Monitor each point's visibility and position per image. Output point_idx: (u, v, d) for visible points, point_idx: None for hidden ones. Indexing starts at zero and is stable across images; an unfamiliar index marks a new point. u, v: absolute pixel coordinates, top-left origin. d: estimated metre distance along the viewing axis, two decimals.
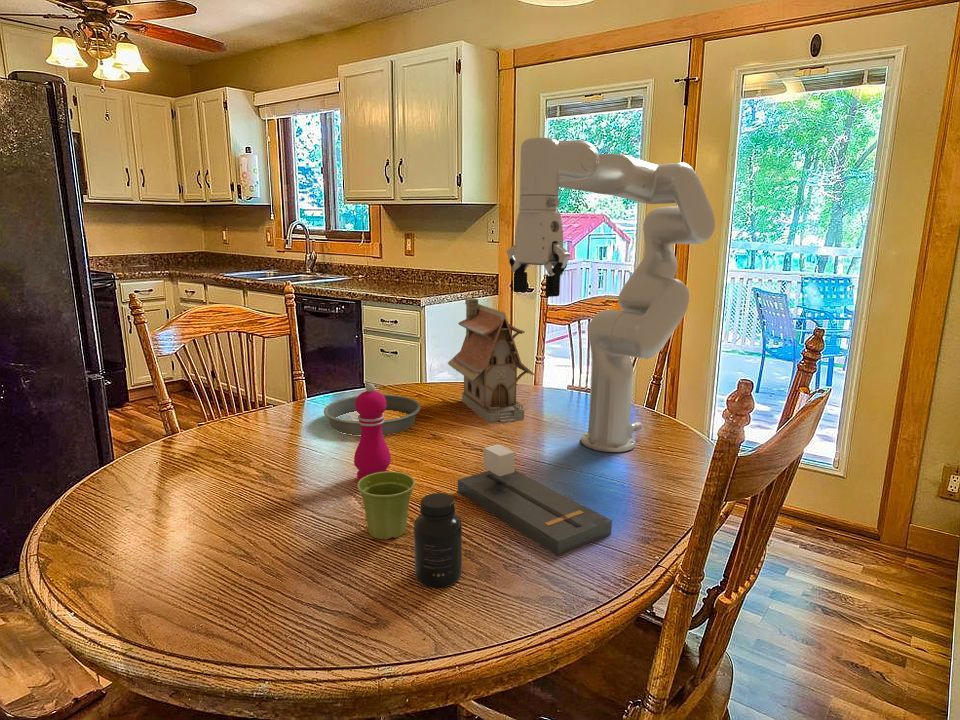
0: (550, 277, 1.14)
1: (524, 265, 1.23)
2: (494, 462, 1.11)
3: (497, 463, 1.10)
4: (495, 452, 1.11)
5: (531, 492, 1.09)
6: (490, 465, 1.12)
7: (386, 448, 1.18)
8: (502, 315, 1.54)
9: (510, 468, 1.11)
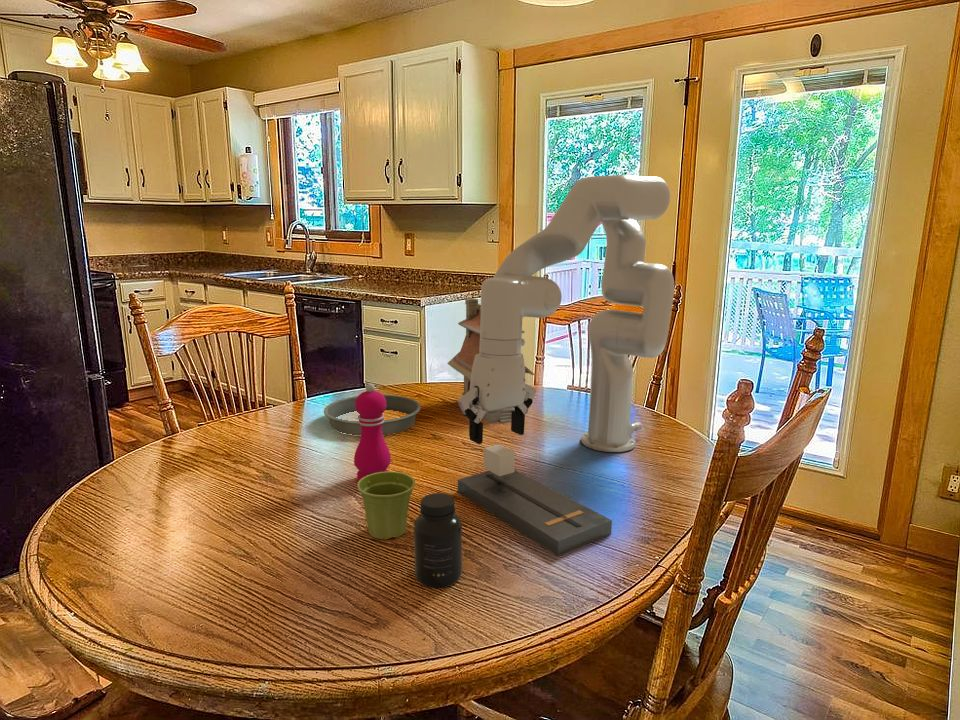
0: None
1: (474, 412, 1.08)
2: (494, 462, 1.11)
3: (497, 463, 1.10)
4: (495, 452, 1.11)
5: (531, 492, 1.09)
6: (490, 465, 1.12)
7: (386, 448, 1.18)
8: None
9: (510, 468, 1.11)
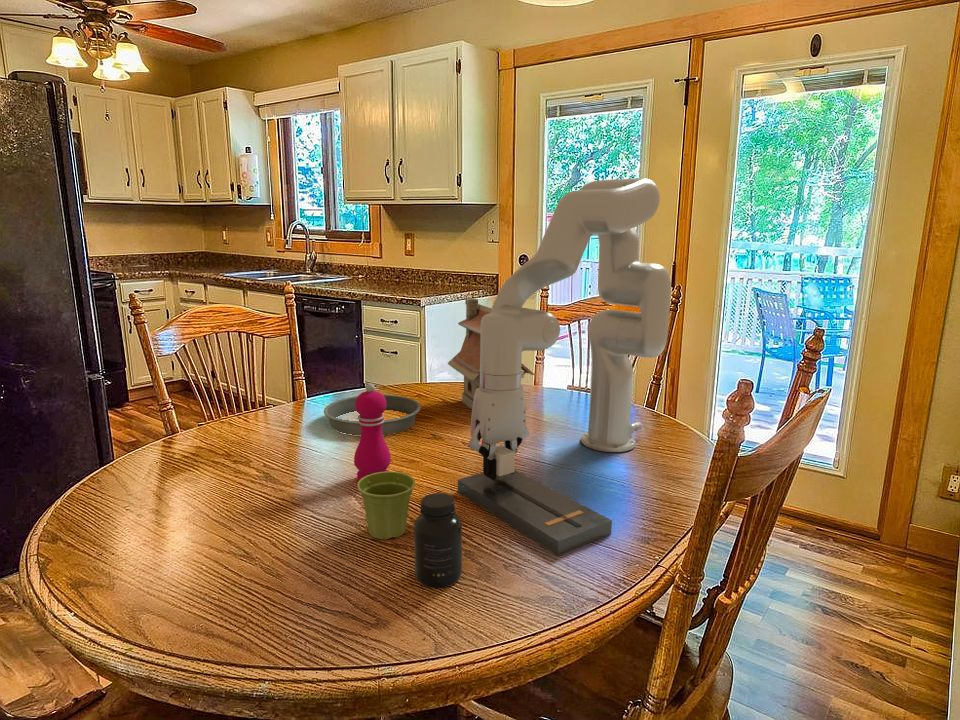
0: None
1: (485, 447, 1.11)
2: None
3: (497, 463, 1.10)
4: (495, 452, 1.11)
5: (531, 492, 1.09)
6: None
7: (386, 448, 1.18)
8: None
9: (510, 468, 1.11)
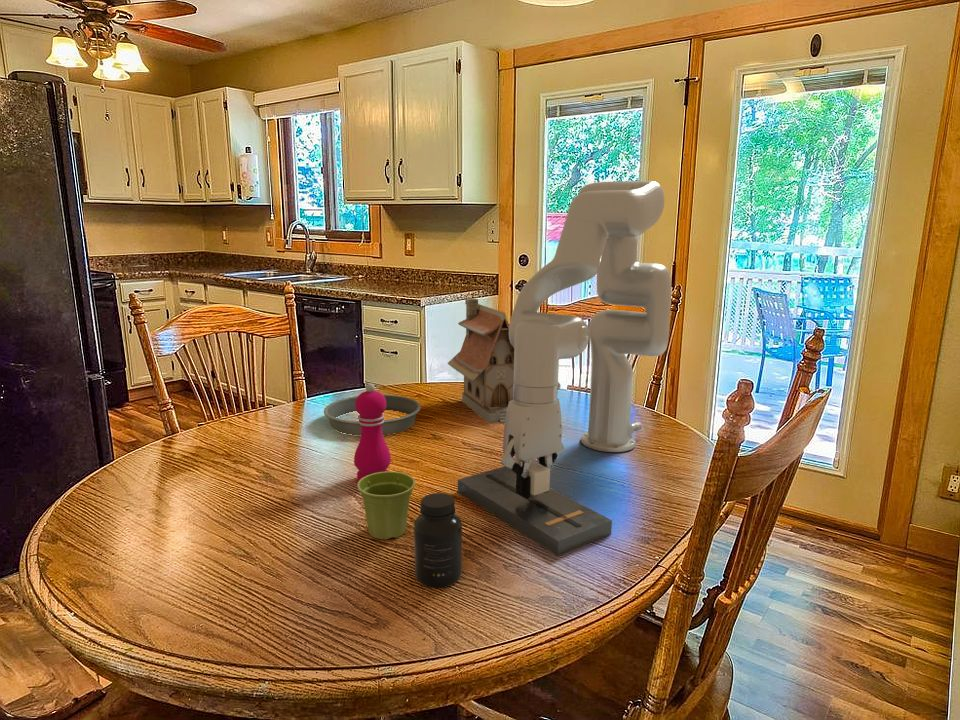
0: None
1: (519, 464, 1.04)
2: None
3: (531, 481, 1.02)
4: (529, 469, 1.03)
5: None
6: None
7: (386, 448, 1.18)
8: (502, 315, 1.54)
9: (545, 486, 1.04)
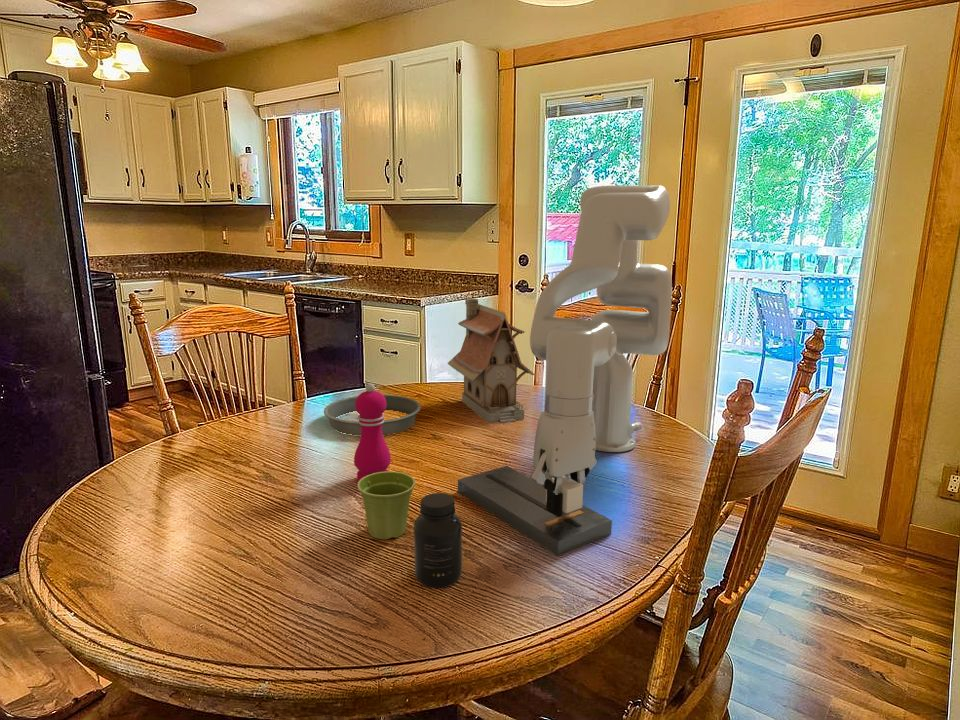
0: None
1: (550, 479, 0.97)
2: None
3: (564, 498, 0.96)
4: (561, 485, 0.97)
5: (531, 492, 1.09)
6: None
7: (386, 448, 1.18)
8: (502, 315, 1.54)
9: (578, 503, 0.97)
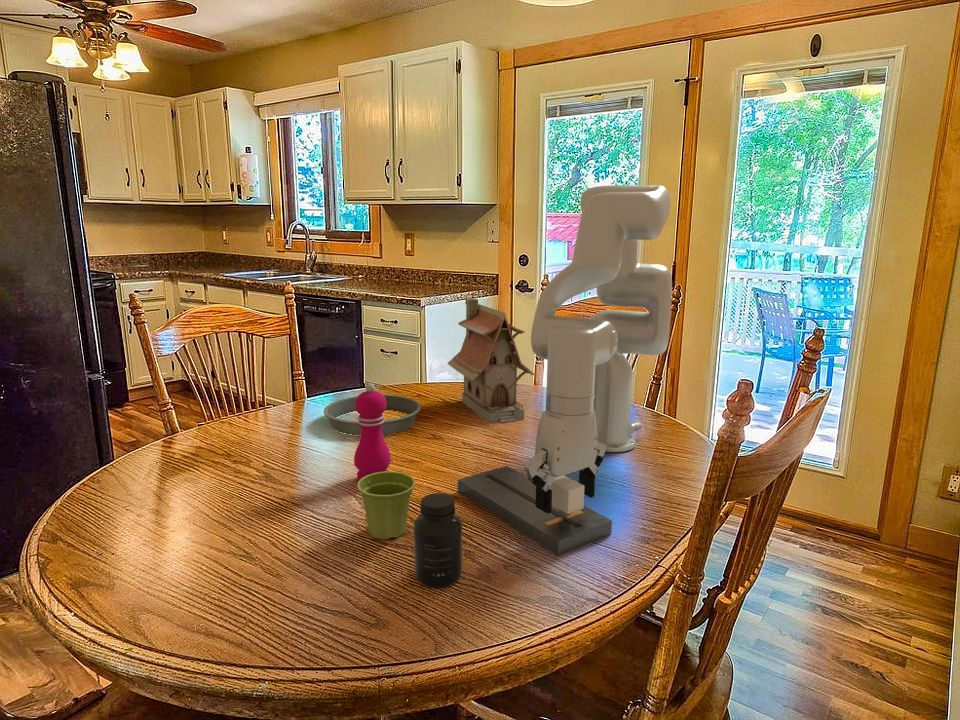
0: None
1: (541, 476, 0.96)
2: (561, 498, 0.97)
3: (565, 499, 0.96)
4: (562, 486, 0.97)
5: (531, 492, 1.09)
6: (556, 500, 0.98)
7: (386, 448, 1.18)
8: (502, 315, 1.54)
9: (579, 504, 0.97)
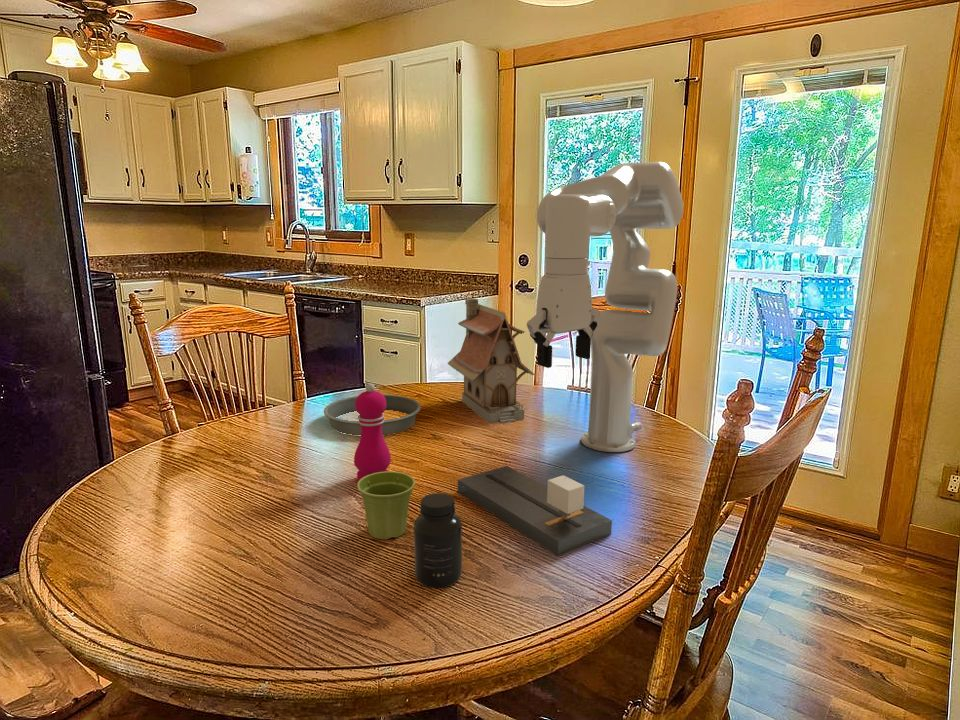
0: None
1: None
2: (561, 498, 0.97)
3: (565, 499, 0.96)
4: (562, 486, 0.97)
5: (531, 492, 1.09)
6: (556, 500, 0.98)
7: (386, 448, 1.18)
8: (502, 315, 1.54)
9: (579, 504, 0.97)
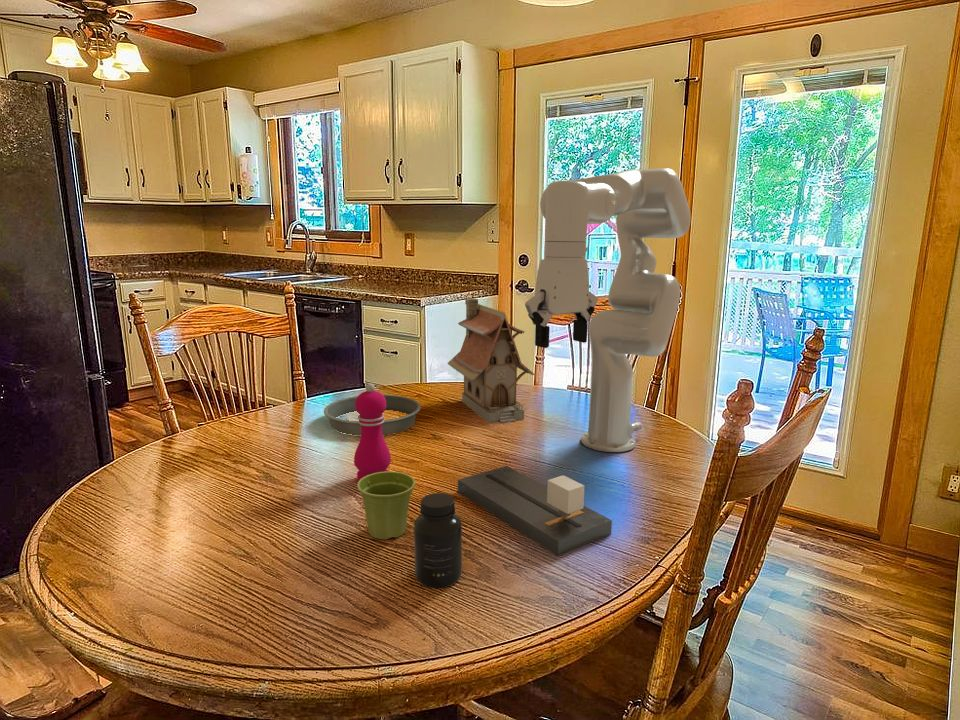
0: None
1: None
2: (561, 498, 0.97)
3: (565, 499, 0.96)
4: (562, 486, 0.97)
5: (531, 492, 1.09)
6: (556, 500, 0.98)
7: (386, 448, 1.18)
8: (502, 315, 1.54)
9: (579, 504, 0.97)
